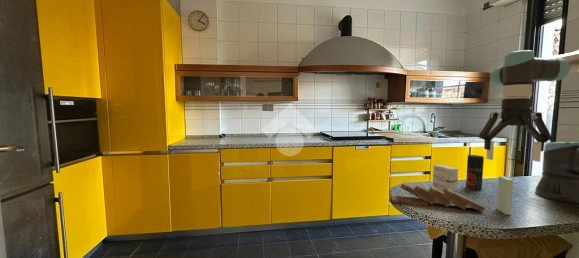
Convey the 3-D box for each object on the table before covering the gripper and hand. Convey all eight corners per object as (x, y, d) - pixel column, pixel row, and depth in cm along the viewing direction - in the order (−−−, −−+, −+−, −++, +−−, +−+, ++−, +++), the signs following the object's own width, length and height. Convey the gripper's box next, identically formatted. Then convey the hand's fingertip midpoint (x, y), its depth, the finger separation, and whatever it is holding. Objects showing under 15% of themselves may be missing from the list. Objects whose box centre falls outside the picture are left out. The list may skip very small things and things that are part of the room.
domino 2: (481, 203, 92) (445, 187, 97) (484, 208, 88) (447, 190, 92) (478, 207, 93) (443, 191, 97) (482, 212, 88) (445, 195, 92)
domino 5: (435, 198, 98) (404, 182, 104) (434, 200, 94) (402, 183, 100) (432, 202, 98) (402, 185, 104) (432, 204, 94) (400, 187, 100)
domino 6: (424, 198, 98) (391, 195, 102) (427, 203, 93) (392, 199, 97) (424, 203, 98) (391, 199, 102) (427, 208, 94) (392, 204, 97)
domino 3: (465, 202, 94) (431, 185, 99) (466, 205, 90) (431, 187, 95) (462, 206, 94) (428, 189, 100) (464, 209, 90) (429, 192, 95)
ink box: (457, 197, 104) (459, 168, 104) (447, 197, 103) (449, 169, 103) (441, 190, 113) (442, 164, 112) (431, 191, 112) (432, 164, 111)
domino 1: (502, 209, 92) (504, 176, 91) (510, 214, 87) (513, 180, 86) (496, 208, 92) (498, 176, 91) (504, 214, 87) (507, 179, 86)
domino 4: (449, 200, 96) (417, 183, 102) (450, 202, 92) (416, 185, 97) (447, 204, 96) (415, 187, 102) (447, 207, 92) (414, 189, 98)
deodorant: (485, 190, 113) (487, 157, 112) (471, 190, 113) (473, 157, 112) (475, 186, 119) (477, 155, 118) (462, 186, 119) (464, 154, 118)
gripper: (552, 98, 87) (547, 159, 89) (469, 99, 93) (466, 156, 94) (570, 97, 80) (565, 163, 81) (479, 98, 86) (476, 160, 87)
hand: (512, 160), depth 88 cm, fingers open, 13 cm apart
